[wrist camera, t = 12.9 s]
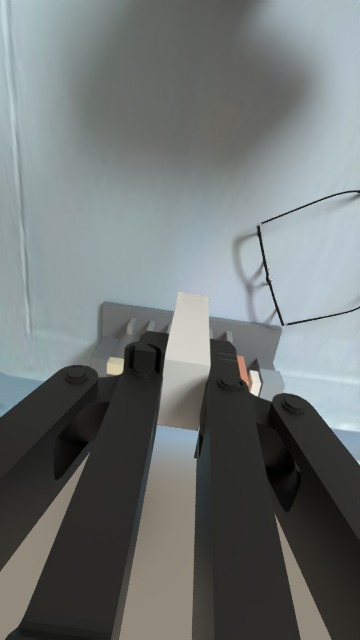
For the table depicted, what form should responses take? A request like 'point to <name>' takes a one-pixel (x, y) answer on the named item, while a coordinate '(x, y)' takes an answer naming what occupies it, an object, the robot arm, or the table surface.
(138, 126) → the table surface
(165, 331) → the cable comb board
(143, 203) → the table surface
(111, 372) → the cream long bar
